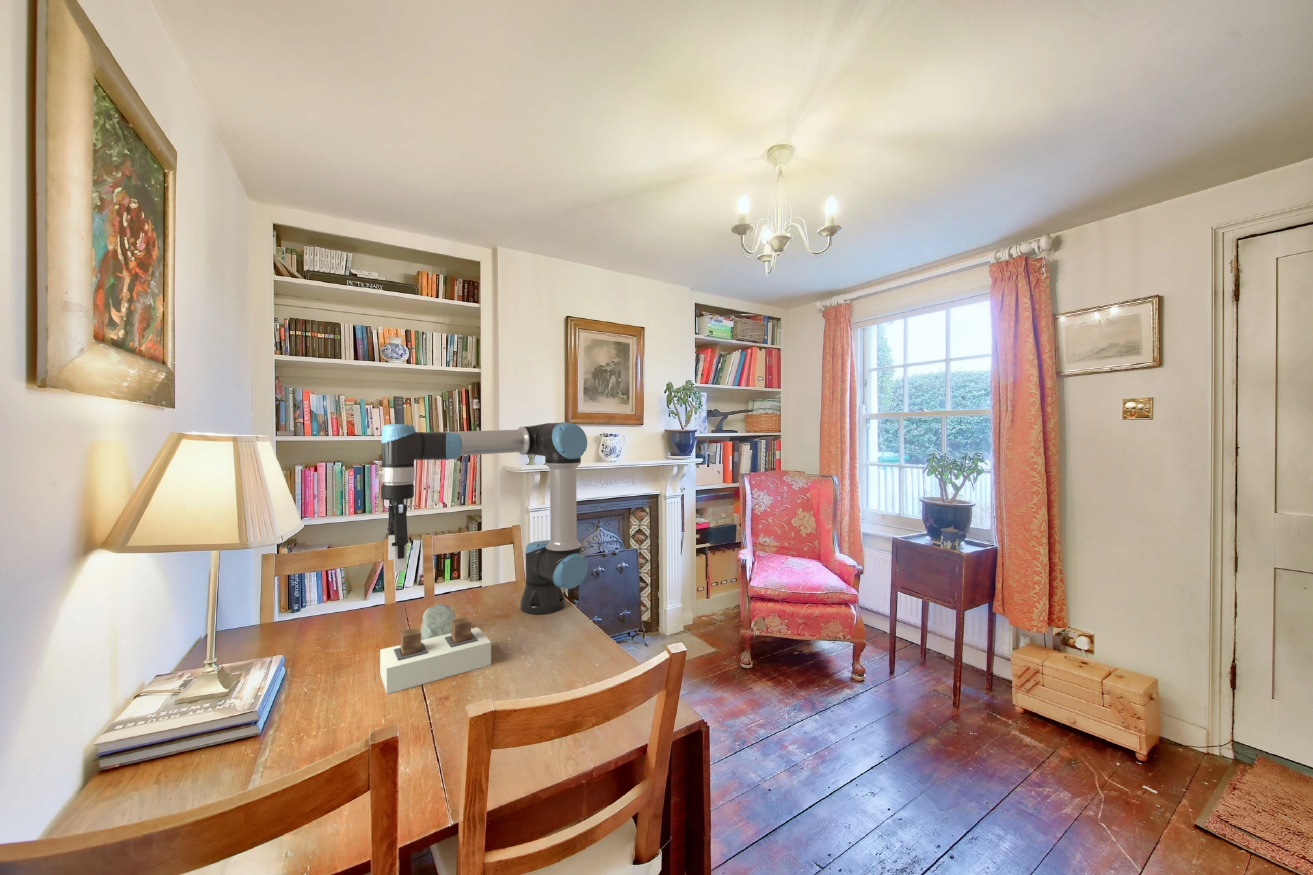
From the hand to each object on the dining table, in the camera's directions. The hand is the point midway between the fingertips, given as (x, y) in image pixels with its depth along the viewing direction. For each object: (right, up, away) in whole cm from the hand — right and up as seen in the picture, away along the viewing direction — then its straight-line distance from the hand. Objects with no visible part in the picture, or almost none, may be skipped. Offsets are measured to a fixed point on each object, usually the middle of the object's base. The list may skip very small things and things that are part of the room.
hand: (396, 565), depth 123 cm
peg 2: (+16, -22, +3) cm, 27 cm away
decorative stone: (+3, -27, +16) cm, 31 cm away
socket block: (+11, -27, -1) cm, 29 cm away
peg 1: (+6, -22, -4) cm, 23 cm away
